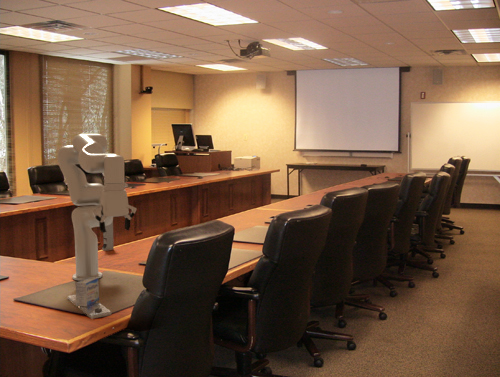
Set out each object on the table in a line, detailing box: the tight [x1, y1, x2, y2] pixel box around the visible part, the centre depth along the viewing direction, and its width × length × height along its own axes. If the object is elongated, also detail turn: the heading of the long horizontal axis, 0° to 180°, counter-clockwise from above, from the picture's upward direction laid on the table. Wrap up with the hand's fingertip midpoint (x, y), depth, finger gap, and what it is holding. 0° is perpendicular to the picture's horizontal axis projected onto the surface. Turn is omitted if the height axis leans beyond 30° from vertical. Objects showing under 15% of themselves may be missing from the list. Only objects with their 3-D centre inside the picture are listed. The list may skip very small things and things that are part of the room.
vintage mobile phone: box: [101, 220, 115, 252], centre depth 284 cm, size 4×5×25 cm
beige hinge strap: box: [67, 294, 112, 320], centre depth 188 cm, size 27×7×2 cm, turn 36°
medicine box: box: [75, 277, 100, 307], centre depth 188 cm, size 8×4×9 cm, turn 163°
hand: (115, 230), depth 201 cm, fingers open, 9 cm apart
